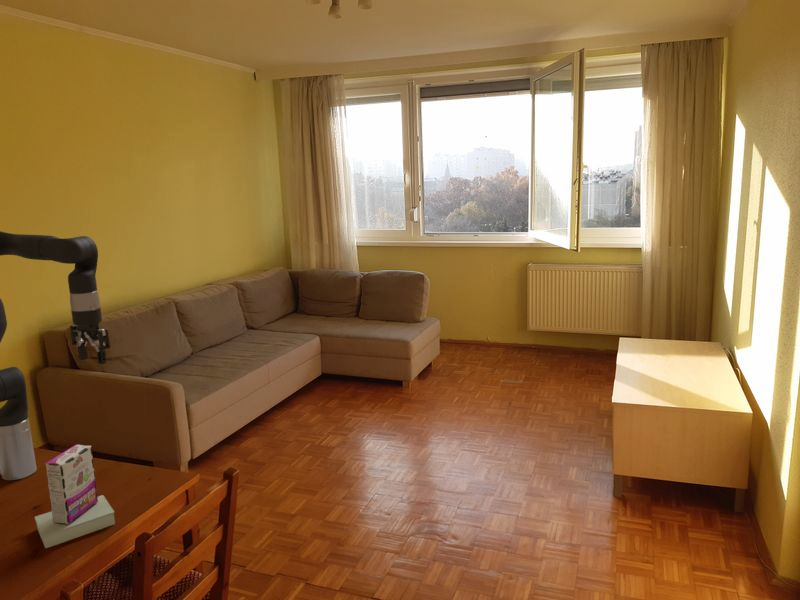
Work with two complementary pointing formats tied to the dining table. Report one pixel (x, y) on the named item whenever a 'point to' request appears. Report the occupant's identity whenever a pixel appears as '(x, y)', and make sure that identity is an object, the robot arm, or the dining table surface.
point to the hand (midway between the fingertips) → (93, 361)
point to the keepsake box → (75, 524)
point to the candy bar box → (71, 483)
